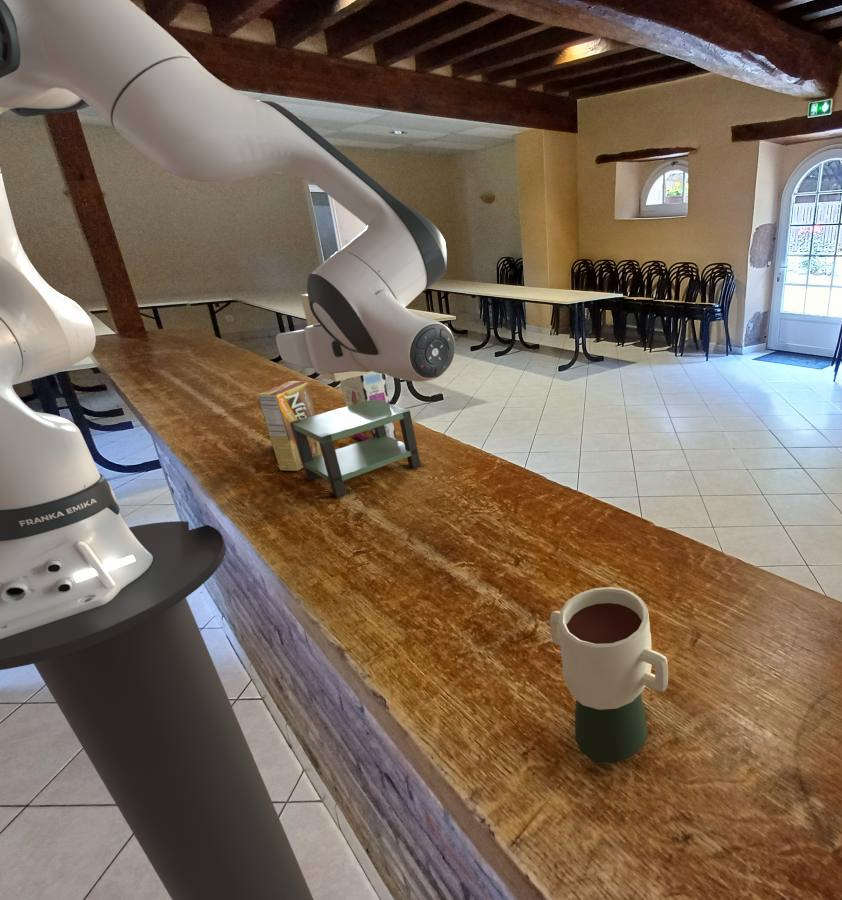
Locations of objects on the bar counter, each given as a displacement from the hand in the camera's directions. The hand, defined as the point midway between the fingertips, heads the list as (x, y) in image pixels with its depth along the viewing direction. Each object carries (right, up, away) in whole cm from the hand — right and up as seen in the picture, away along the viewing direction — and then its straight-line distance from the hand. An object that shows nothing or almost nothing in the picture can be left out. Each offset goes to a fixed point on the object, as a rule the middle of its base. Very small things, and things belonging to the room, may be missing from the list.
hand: (331, 331), depth 88 cm
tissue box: (+1, -7, +2) cm, 7 cm away
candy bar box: (-6, -16, +32) cm, 36 cm away
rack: (-1, -23, +15) cm, 28 cm away
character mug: (+44, -44, -40) cm, 74 cm away
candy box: (-16, -21, +21) cm, 34 cm away
